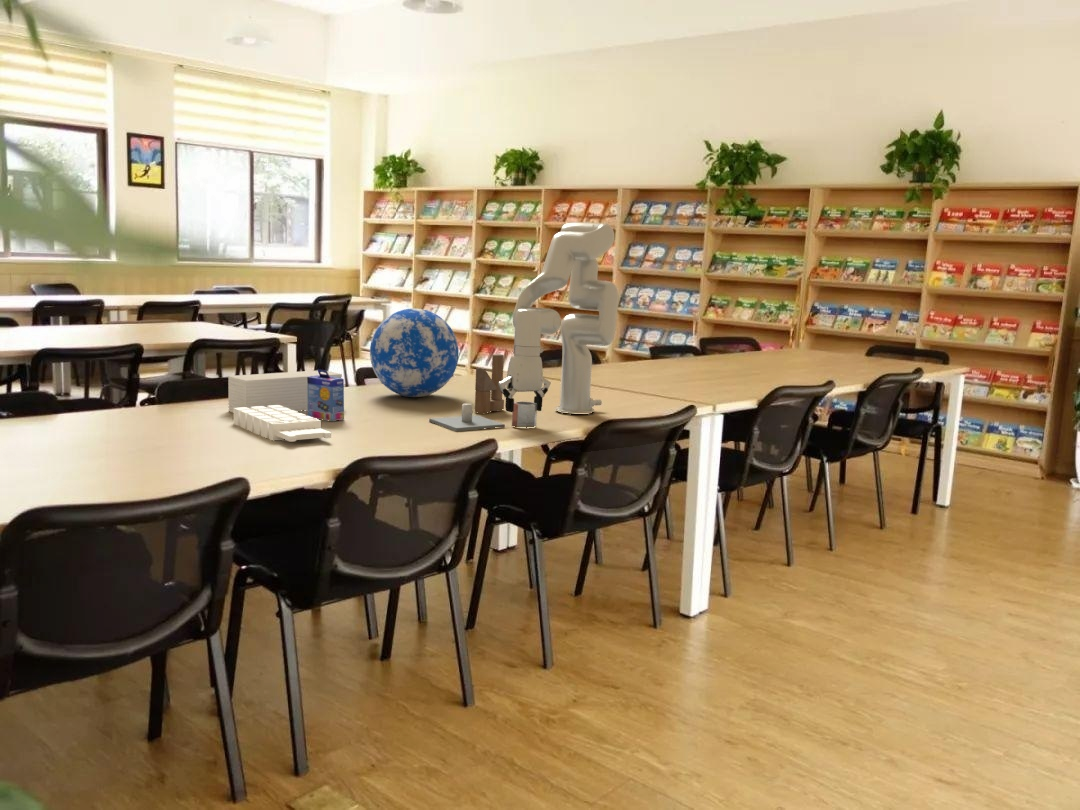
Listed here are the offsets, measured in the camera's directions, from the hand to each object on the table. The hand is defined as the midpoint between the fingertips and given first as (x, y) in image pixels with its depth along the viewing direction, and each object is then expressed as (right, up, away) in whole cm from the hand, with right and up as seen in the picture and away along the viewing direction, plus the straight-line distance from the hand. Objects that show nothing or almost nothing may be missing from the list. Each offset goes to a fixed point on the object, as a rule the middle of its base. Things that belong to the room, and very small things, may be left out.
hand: (523, 410), depth 274 cm
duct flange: (-17, -4, +1) cm, 17 cm away
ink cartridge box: (-58, -3, 0) cm, 58 cm away
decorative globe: (-38, +4, +48) cm, 62 cm away
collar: (0, -5, +1) cm, 5 cm away
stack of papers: (-72, 0, +13) cm, 73 cm away
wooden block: (-11, -1, +25) cm, 27 cm away
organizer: (-64, -6, -22) cm, 68 cm away
